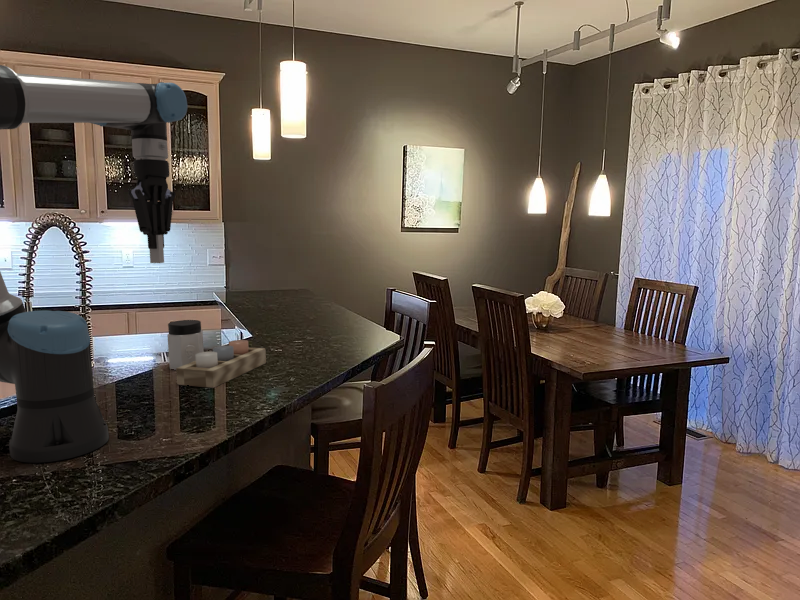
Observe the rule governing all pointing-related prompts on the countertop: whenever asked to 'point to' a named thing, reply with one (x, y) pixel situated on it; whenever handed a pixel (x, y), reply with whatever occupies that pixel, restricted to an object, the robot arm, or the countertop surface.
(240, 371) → the patterned wooden tray
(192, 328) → the jar
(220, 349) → the grey cylinder
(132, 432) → the countertop surface
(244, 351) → the brown piece
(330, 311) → the countertop surface
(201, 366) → the key ivory
